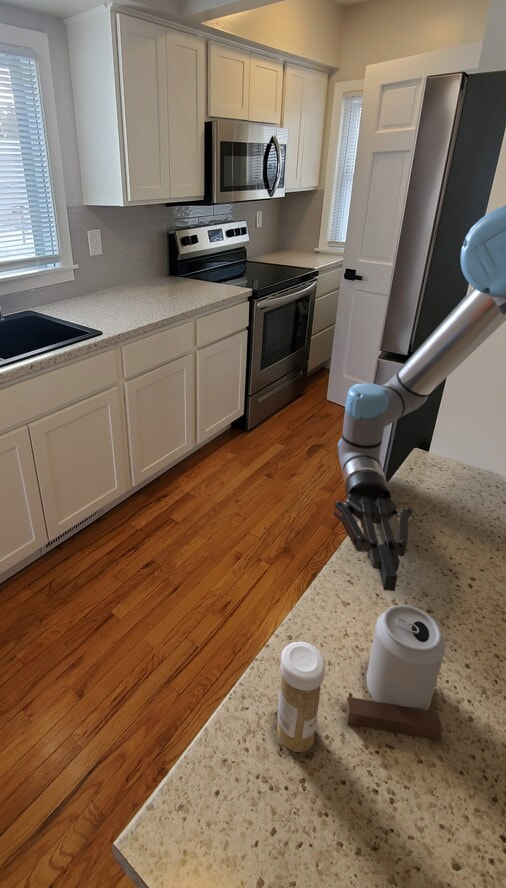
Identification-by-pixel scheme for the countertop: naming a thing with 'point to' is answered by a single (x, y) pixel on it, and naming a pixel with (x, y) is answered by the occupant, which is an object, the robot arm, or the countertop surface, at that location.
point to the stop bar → (393, 718)
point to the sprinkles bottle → (299, 695)
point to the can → (405, 658)
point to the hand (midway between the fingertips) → (390, 583)
